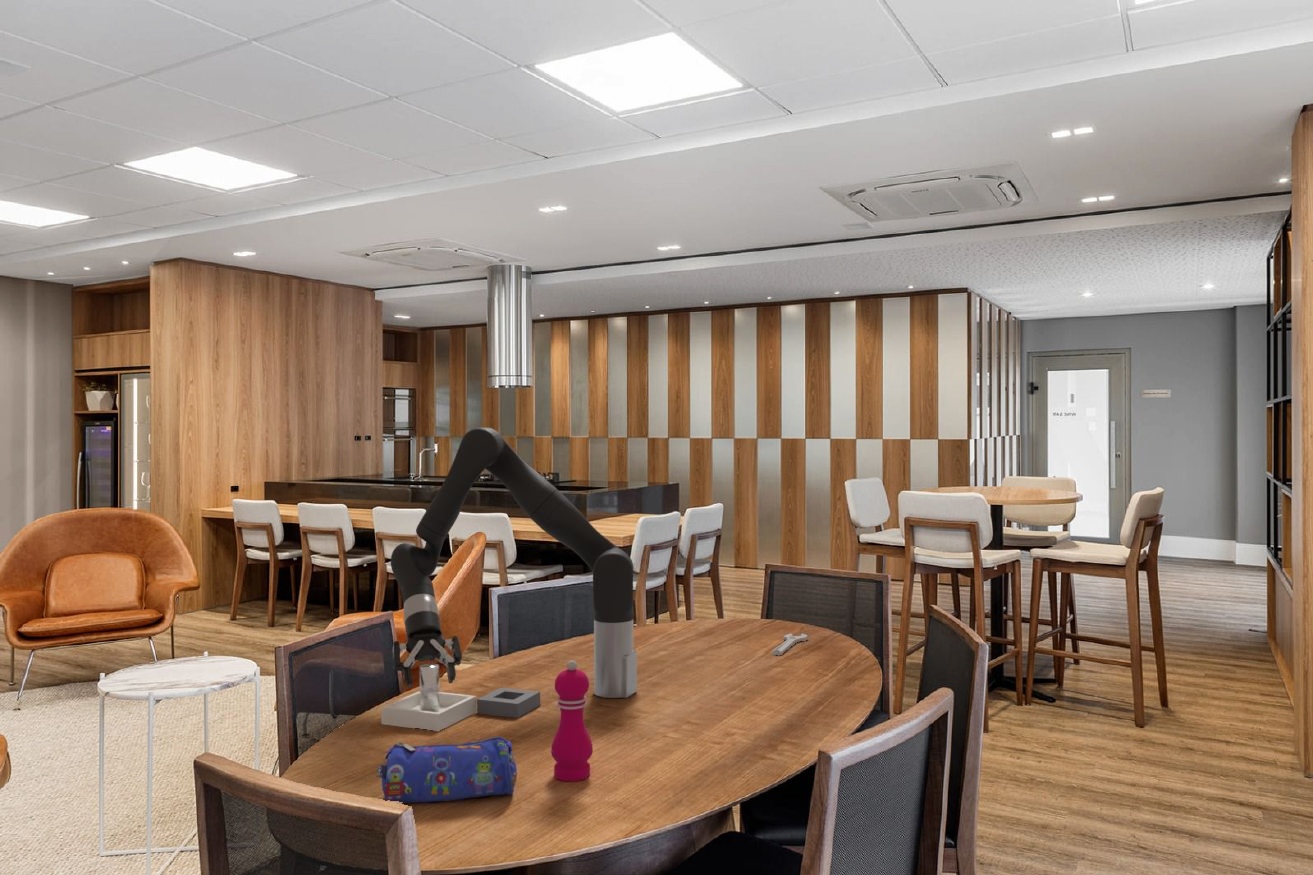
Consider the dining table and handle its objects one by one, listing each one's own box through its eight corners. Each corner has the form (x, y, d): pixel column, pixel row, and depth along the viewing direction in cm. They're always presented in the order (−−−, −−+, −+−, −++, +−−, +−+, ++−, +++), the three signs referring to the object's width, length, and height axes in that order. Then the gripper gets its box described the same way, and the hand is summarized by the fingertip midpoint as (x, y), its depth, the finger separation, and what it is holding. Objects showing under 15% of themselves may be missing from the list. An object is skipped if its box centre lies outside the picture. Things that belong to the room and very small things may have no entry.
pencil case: (375, 813, 140) (375, 752, 140) (382, 792, 148) (382, 735, 148) (517, 803, 144) (517, 743, 144) (516, 783, 152) (516, 727, 152)
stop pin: (443, 711, 190) (442, 664, 190) (432, 716, 186) (431, 669, 186) (427, 709, 191) (427, 663, 191) (416, 714, 188) (415, 667, 188)
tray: (476, 712, 193) (476, 696, 193) (438, 731, 180) (438, 714, 180) (422, 705, 198) (422, 690, 198) (381, 724, 185) (381, 707, 185)
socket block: (540, 705, 198) (540, 691, 198) (517, 718, 188) (517, 703, 188) (501, 700, 201) (501, 687, 201) (477, 713, 192) (477, 699, 192)
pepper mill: (552, 768, 159) (551, 656, 159) (592, 767, 159) (592, 655, 160) (550, 783, 152) (550, 666, 152) (593, 782, 152) (592, 665, 152)
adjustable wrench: (780, 658, 243) (780, 651, 243) (758, 655, 246) (758, 649, 246) (809, 640, 265) (809, 634, 265) (789, 638, 268) (789, 632, 268)
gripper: (390, 612, 193) (398, 677, 182) (456, 607, 199) (467, 670, 188) (387, 632, 198) (394, 696, 187) (451, 626, 203) (462, 689, 193)
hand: (431, 683), depth 188 cm, fingers open, 8 cm apart
